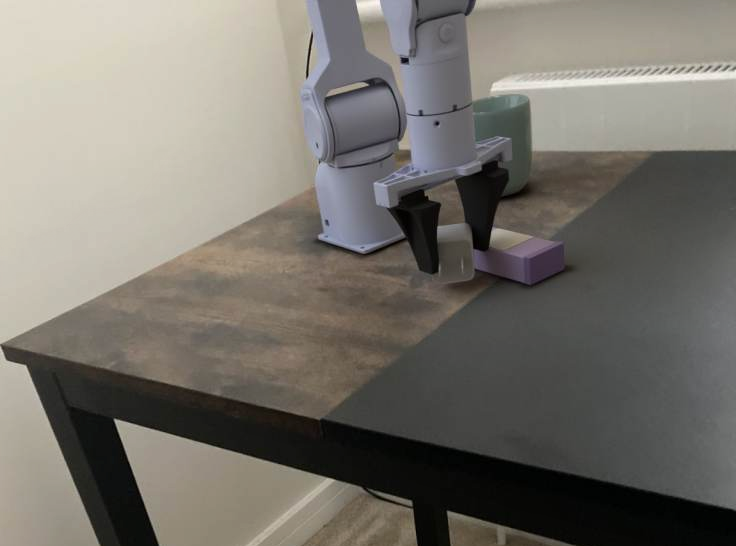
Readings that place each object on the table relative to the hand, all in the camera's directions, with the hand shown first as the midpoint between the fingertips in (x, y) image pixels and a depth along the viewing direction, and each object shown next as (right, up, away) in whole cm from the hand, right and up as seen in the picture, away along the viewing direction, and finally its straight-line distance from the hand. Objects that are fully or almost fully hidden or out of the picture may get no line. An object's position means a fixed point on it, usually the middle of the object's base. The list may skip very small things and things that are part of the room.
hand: (454, 260), depth 84 cm
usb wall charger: (0, -2, 0) cm, 2 cm away
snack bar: (+5, +1, +4) cm, 7 cm away
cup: (+8, +14, +22) cm, 28 cm away
